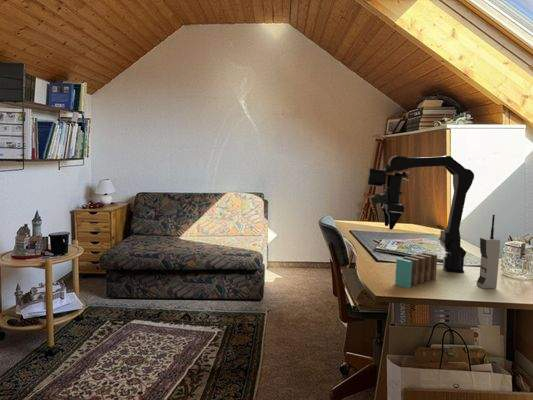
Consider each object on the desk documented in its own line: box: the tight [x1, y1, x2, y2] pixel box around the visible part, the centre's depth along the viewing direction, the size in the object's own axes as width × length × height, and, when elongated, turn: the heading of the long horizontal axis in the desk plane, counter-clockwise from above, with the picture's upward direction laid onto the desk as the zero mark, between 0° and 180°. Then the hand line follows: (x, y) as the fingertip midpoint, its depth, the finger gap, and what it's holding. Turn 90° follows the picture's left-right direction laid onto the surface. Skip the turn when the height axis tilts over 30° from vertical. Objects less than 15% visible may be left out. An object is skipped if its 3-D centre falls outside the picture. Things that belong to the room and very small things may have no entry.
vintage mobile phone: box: [475, 214, 501, 289], centre depth 145 cm, size 4×5×25 cm
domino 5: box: [421, 251, 438, 281], centre depth 155 cm, size 2×5×9 cm, turn 39°
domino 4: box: [415, 253, 431, 283], centre depth 152 cm, size 2×5×9 cm, turn 39°
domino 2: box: [402, 256, 419, 287], centre depth 147 cm, size 2×5×9 cm, turn 39°
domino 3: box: [409, 254, 425, 285], centre depth 150 cm, size 2×5×9 cm, turn 39°
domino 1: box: [394, 257, 412, 289], centre depth 145 cm, size 2×5×9 cm, turn 39°
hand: (388, 227), depth 168 cm, fingers open, 9 cm apart
